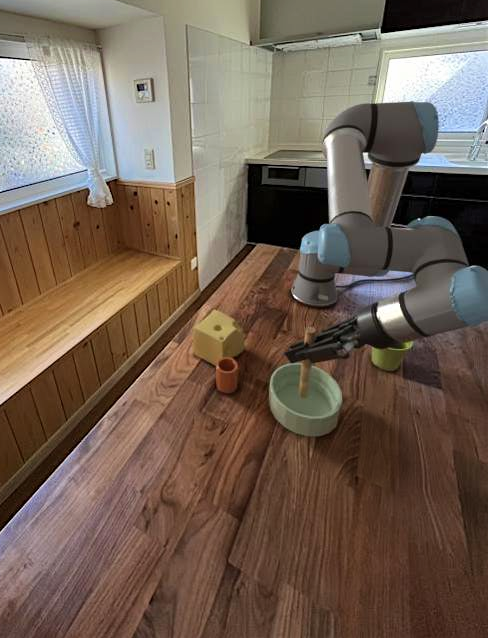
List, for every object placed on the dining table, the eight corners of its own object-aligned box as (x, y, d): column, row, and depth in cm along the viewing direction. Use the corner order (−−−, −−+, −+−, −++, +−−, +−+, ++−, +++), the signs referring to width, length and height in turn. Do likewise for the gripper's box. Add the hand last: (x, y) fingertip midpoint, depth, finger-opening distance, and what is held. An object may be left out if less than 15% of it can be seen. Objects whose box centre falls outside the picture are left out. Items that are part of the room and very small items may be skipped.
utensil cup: (227, 374, 87) (227, 353, 84) (241, 388, 83) (242, 366, 80) (212, 384, 84) (211, 363, 82) (225, 398, 80) (225, 376, 78)
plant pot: (411, 379, 83) (419, 351, 80) (370, 374, 85) (376, 347, 81) (397, 352, 91) (404, 326, 88) (360, 348, 93) (365, 323, 90)
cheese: (244, 350, 95) (245, 322, 91) (222, 373, 87) (222, 343, 83) (215, 335, 101) (214, 308, 97) (192, 355, 94) (190, 327, 90)
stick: (302, 389, 77) (309, 325, 70) (309, 395, 75) (318, 330, 68) (296, 393, 76) (303, 329, 69) (303, 399, 74) (311, 334, 67)
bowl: (297, 371, 87) (299, 353, 84) (352, 413, 75) (356, 393, 73) (255, 401, 79) (256, 382, 77) (309, 452, 68) (312, 432, 65)
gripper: (393, 366, 51) (285, 390, 68) (414, 319, 61) (315, 350, 79) (361, 325, 53) (263, 358, 70) (387, 285, 63) (296, 322, 80)
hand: (291, 354), depth 74 cm, fingers closed on stick, 2 cm apart
